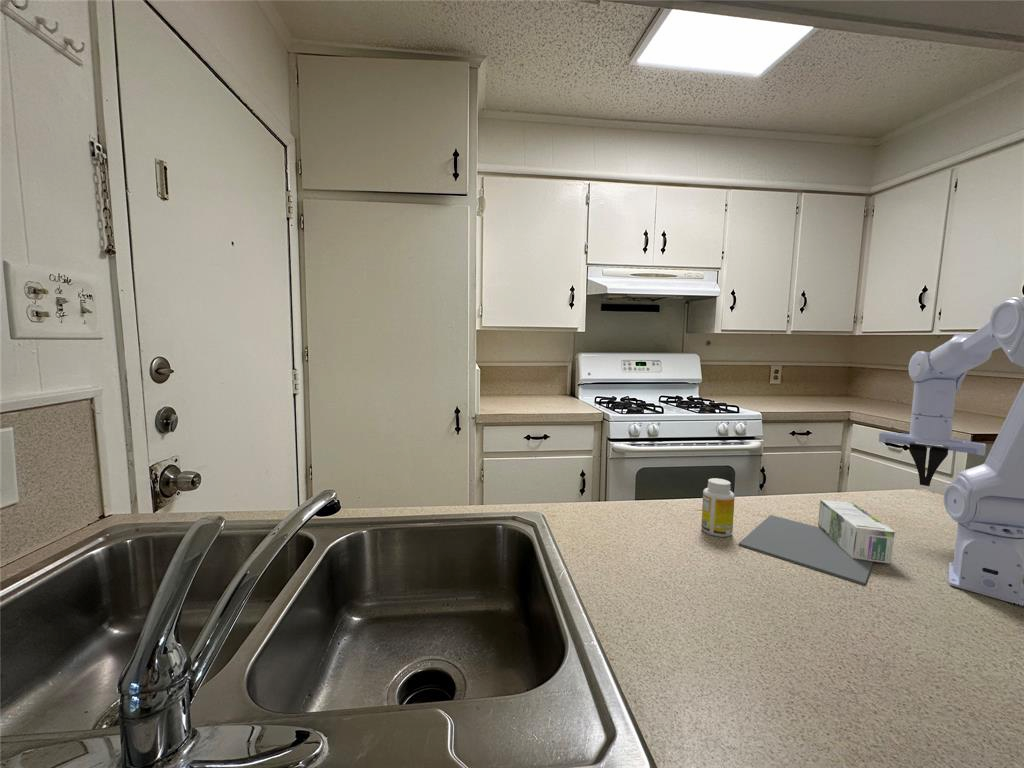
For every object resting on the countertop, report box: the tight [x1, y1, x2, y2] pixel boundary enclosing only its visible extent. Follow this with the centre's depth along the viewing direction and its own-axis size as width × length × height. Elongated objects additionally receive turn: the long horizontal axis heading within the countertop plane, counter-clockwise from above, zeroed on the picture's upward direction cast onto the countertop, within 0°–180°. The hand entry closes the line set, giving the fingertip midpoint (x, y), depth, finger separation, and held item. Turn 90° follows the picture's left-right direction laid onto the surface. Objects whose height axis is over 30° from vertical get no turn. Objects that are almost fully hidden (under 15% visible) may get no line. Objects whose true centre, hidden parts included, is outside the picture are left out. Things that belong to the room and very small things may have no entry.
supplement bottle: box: [701, 477, 735, 538], centre depth 83 cm, size 6×6×10 cm
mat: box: [738, 514, 875, 586], centre depth 79 cm, size 20×18×1 cm
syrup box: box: [817, 499, 896, 564], centre depth 79 cm, size 6×6×14 cm
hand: (924, 484), depth 83 cm, fingers closed
